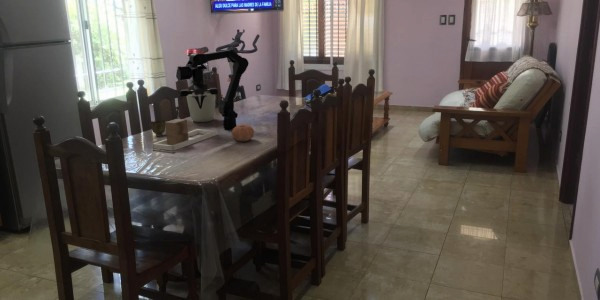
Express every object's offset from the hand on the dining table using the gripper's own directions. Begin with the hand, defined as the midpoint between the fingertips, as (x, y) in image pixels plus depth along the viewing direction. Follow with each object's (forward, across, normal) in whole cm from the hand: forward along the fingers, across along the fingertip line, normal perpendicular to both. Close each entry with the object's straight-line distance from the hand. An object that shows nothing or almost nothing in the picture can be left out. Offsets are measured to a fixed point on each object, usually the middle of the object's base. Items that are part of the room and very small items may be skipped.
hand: (200, 108), depth 246 cm
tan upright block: (+12, -12, -26) cm, 31 cm away
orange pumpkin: (+13, +19, -24) cm, 33 cm away
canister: (+13, +1, +34) cm, 36 cm away
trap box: (+13, -8, -22) cm, 26 cm away
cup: (+13, -22, 0) cm, 26 cm away
